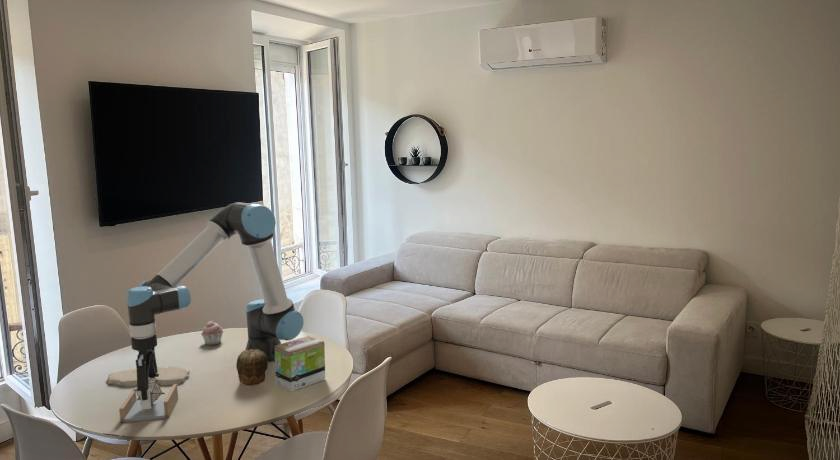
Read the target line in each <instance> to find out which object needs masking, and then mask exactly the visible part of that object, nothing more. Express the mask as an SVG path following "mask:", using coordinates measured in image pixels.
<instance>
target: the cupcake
mask: <svg viewBox="0 0 840 460" xmlns="http://www.w3.org/2000/svg"><path fill="white" fill-rule="evenodd" d="M224 331H225V330H223V327H222V326H221V325H220V324H219V323H217V322H214V321H213V320H209V321H208V322H207V323H206V324H205V326H204V327H203V328H202V331H201V333H200V335H201V336H202V339H203V341H204V344H205V345H206V346H215V345H219V344H220V343H221V342H222V337H223V333H224Z"/></svg>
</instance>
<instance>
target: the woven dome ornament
mask: <svg viewBox="0 0 840 460" xmlns="http://www.w3.org/2000/svg"><path fill="white" fill-rule="evenodd" d="M235 365H236V367H235V368H236V371H237V376H238V381H239V382H240V384H241V385H244V386H256V385H261V384H262V383H264V382H265V380H266V373H267V370H268V369H269V368H268V367H269V362H268V359H267V356H266V354H265V353H264V352H262V351H260V350H258V349H256V350H252V349H250V350H246V349H245V350H242V351H241V352H240V353H239V355H238V356H237V359H236V364H235Z"/></svg>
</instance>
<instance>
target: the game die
mask: <svg viewBox="0 0 840 460" xmlns="http://www.w3.org/2000/svg"><path fill="white" fill-rule="evenodd" d="M157 381H158V380H156V381H151V380H148V388H150V399H151V406H153V402H154V401H155V400H157V399H158V398H160V397H161V396H162V395H165V392H163V391H162V389H161V385H160V383H159V384H158V383H157ZM133 391H136V396H137V397H138V398H136V399H137V400H140V401H141V397H140V391H137V388H136V389H135V388H134V389H133ZM140 404H141V403H140Z"/></svg>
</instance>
